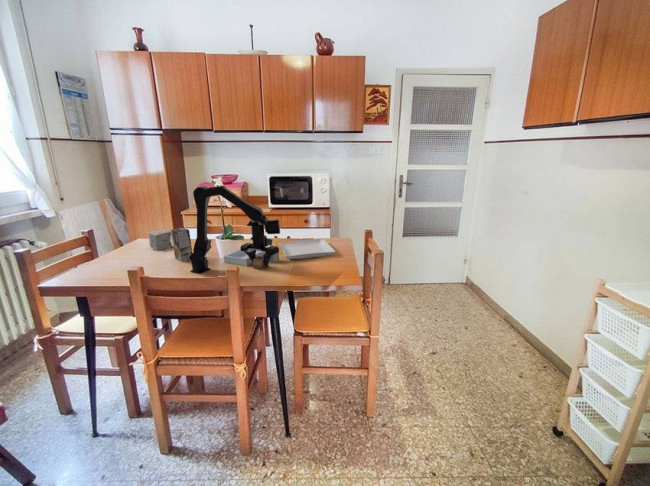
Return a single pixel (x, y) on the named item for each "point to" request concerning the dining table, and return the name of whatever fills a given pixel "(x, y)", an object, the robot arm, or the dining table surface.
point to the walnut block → (259, 263)
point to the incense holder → (160, 239)
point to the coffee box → (181, 244)
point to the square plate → (306, 248)
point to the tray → (241, 257)
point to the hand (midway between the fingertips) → (260, 265)
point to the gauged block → (274, 258)
